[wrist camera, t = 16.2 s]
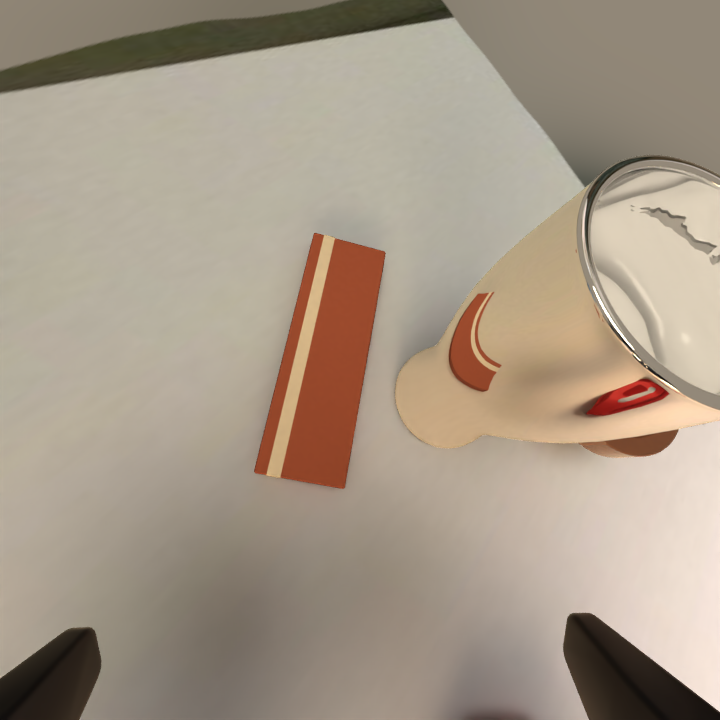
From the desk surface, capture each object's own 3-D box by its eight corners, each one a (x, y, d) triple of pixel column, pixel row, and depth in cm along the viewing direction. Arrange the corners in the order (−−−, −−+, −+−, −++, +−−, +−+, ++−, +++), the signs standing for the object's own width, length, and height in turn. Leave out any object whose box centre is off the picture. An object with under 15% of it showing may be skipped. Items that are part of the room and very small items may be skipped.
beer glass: (435, 481, 21) (745, 499, 7) (363, 381, 22) (509, 213, 8) (516, 412, 23) (877, 318, 9) (448, 323, 24) (682, 112, 10)
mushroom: (616, 419, 24) (746, 399, 18) (556, 482, 22) (677, 486, 16) (552, 342, 25) (653, 294, 18) (489, 396, 23) (575, 364, 16)
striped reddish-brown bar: (380, 264, 24) (386, 250, 23) (340, 488, 20) (344, 489, 18) (312, 246, 24) (314, 231, 22) (255, 473, 19) (253, 473, 18)
